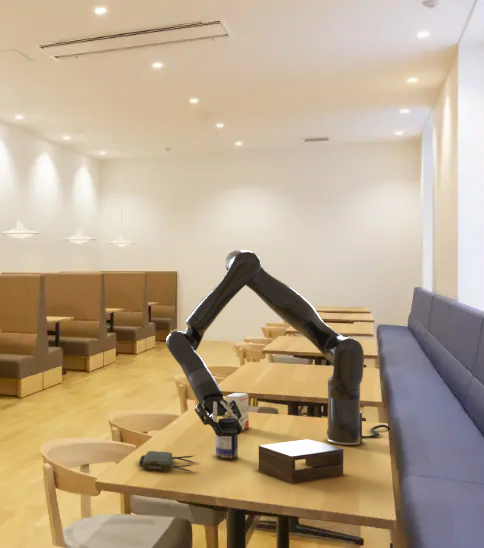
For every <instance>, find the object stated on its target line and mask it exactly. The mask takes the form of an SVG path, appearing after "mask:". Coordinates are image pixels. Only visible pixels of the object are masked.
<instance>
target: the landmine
mask: <svg viewBox="0 0 484 548" xmlns="http://www.w3.org/2000/svg"><path fill="white" fill-rule="evenodd" d="M193 457H196V455H185V456H184V455H183V456H173V453H172V452H169V451H156V450H148V451H147V452H146V453H145V454H142V455H141V457H140V459H139V466H141V467H143V470H144V471H158V472H169V471H170V470H171V469H177V470H181V471H185V472H189V473H192V474H193V473H195V472H194V471H192V470H189V469H187V467H191V466H193V464H183V465H182V464H181V465H173V460H179V461H184V462H188V463H194V464H196V462H194V461H192V460H190V459H188V458H193ZM185 467H186V468H185Z"/></svg>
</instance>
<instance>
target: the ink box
mask: <svg viewBox="0 0 484 548" xmlns="http://www.w3.org/2000/svg"><path fill="white" fill-rule="evenodd" d="M225 400H226V401H227V402H231V401H232V400H234V401H235V402H236V404H237V406H238V408H239V411H240V413H241V415H242V417H241V418H240V419H239V420H238V421H239V423H240V425H241V427H242V429H243V430H242V431H244V430H246V429H248V428H249V427H250V425H249V423H250V420H249V419H250V417H249V416H250V414H249V413H250V412H249V411H250V410H249V393H248V392H247V393H246V392H234V393H231V394H228V395H225ZM225 414H226V415H227V414H228V412H226V413H225ZM236 415H237V414H236ZM230 417H231V416H230ZM231 418H232V417H231ZM232 419H233V418H232Z"/></svg>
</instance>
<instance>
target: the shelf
mask: <svg viewBox="0 0 484 548" xmlns="http://www.w3.org/2000/svg"><path fill="white" fill-rule="evenodd" d="M301 460H305V461H304V463H305V465H306V466H310V467H307V468H306V467H305V468H299V469H296V461H301ZM258 472H260V473H261V474H262V473H263V474H266V475H268V476H270V477H274V478H276V479H279V480H281V481H284V482H286V483H290V484H296V483H303V482H309V481H310V482H311V481H315V480H321V479H328V478H334V477H340V476H344V448H342V447H338V446H334V445H331V444H328V443H323V442H320V441H317V440H313V439H310V438H308V439H307V438H306V439H299V440H290V441H283V442H277V443H268V444H260V445H258Z"/></svg>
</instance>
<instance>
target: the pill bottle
mask: <svg viewBox="0 0 484 548" xmlns="http://www.w3.org/2000/svg"><path fill="white" fill-rule="evenodd" d="M217 422H218V423H219V425H220V426H221V428H222V430H223V432H224V434H223V435H222V436H221V437H218V435H216V434H215V457H216V459H220V460H223V461H234V460H237V459H238V457H239V434H238V431H237V429H236V428H234V426H235V420H233V419H228V418H223V417H222V418H219V419H217Z"/></svg>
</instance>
